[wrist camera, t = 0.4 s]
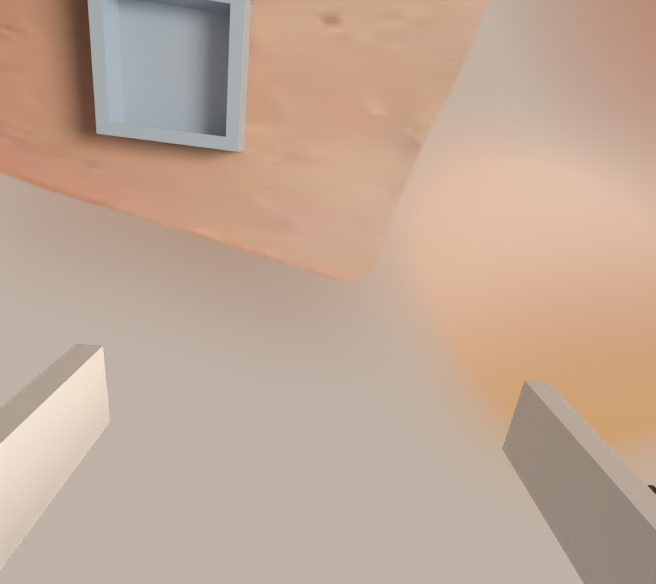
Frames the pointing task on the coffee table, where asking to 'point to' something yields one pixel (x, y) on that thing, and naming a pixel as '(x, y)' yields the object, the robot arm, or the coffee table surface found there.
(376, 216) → the coffee table surface
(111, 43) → the tray
